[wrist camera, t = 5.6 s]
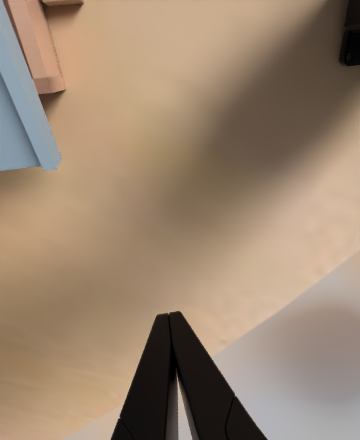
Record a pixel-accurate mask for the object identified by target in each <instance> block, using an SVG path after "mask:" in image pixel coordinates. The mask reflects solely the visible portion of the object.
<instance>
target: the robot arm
mask: <svg viewBox="0 0 360 440" xmlns="http://www.w3.org/2000/svg"><path fill="white" fill-rule="evenodd" d="M349 53H350V54H351V57H350V59H349V60H347V57H348V54H349ZM339 62H340V64H341V65H342V66H354V65H360V0H349V4H348V10H347V15H346V21H345V31H344V36H343V42H342V47H341V52H340V58H339ZM177 377H178V382H179V386H180V390H181V395H182V398H183V403H184V407H185V411H186V415H187V419H188V423H189V427H190V431H191V435H192V439H193V440H268V439H267V438H266V437H265V436H264V434H263V433H262V432H261V430H260V429H259V428H258V427H257V426H256V424H255V422H254V421H253V420H252V418H251V417H250V415H249V414H248V413H247V411H246V410H245V408H244V407H243V405H242V404H241V402H240V401H239V399H238V398H237V397H236V396H235V393H234V392H233V390H232V389H231V387H230V386H229V385H228V383H227V381H226V380H225V378H224V377H223V375H222V374H221V372H220V371H219V370H218V368H217V366H216V365H215V363H214V362H213V360H212V358H211V357H210V355H209V354H208V352H207V351H206V349H205V348H204V346H203V345H202V343H201V342H200V340H199V339H198V337H197V336H196V334H195V333H194V331H193V330H192V328H191V327H190V325H189V324H188V322H187V321H186V319H185V318H184V316H183V315H182V313H181V312H180V311H176V312H170V313H169V314H168V313H164V314H158V315H157V316H156V318H155V321H154V324H153V326H152V329H151V332H150V335H149V337H148V340H147V343H146V345H145V348H144V351H143V354H142V356H141V359H140V362H139V364H138V367H137V370H136V373H135V375H134V378H133V381H132V383H131V386H130V389H129V392H128V394H127V397H126V400H125V403H124V405H123V408H122V411H121V414H120V418H119V419H118V422H117V424H116V427H115V429H114V432H113V435H112V437H111V440H178V391H177V390H178V387H177Z"/></svg>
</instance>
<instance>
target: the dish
mask: <svg viewBox="0 0 360 440" xmlns="http://www.w3.org/2000/svg"><path fill="white" fill-rule="evenodd" d="M3 3H4V6H5V8H6V11H7V14H8V16H9V19H10V22H11V24H12V27H13V30H14V32H15V35H16V38H17V40H18V43H19V46H20V48H21V51H22V54H23V56H24V59H25V62H26V64H27V67H28V70H29V72H30V75H31V78H32V80H33V83H34V85H35V88H36V91H37V93H38V94H46V93H54V92H58V91H61V90H65V89H66V87H65V84H64V80H63V77H62V73H61V69H60V66H59V62H58V58H57V55H56V51H55V48H54V44H53V40H52V37H51V33H50V30H49V26H48V22H47V19H46V15H45V11H44V8H43V4H42V1H41V0H3Z"/></svg>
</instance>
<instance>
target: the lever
mask: <svg viewBox="0 0 360 440" xmlns="http://www.w3.org/2000/svg"><path fill="white" fill-rule="evenodd" d="M61 159H62V157H61V155H60V152H59V149H58V147H57V144H56V141H55V139H54V136H53V133H52V131H51V128H50V125H49V123H48V120H47V117H46V115H45V112H44V109H43V107H42V104H41V101H40V99H39V96H38V93H37V91H36V88H35V85H34V83H33V80H32V78H31V75H30V72H29V70H28V67H27V64H26V62H25V59H24V56H23V54H22V51H21V48H20V46H19V43H18V40H17V38H16V35H15V32H14V30H13V27H12V24H11V22H10V19H9V16H8V14H7V11H6V8H5V6H4V3H3V0H0V171H4V170H12V169H20V168H28V167H36V166H42V168H43V171H46V170H54V169H57V167H58V165H59V163H60V161H61Z"/></svg>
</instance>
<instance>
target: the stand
mask: <svg viewBox="0 0 360 440" xmlns="http://www.w3.org/2000/svg"><path fill="white" fill-rule="evenodd" d="M42 1H43V3H45V4H46V5H48V6H60V5H72V4H84V3H83V0H42Z"/></svg>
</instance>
